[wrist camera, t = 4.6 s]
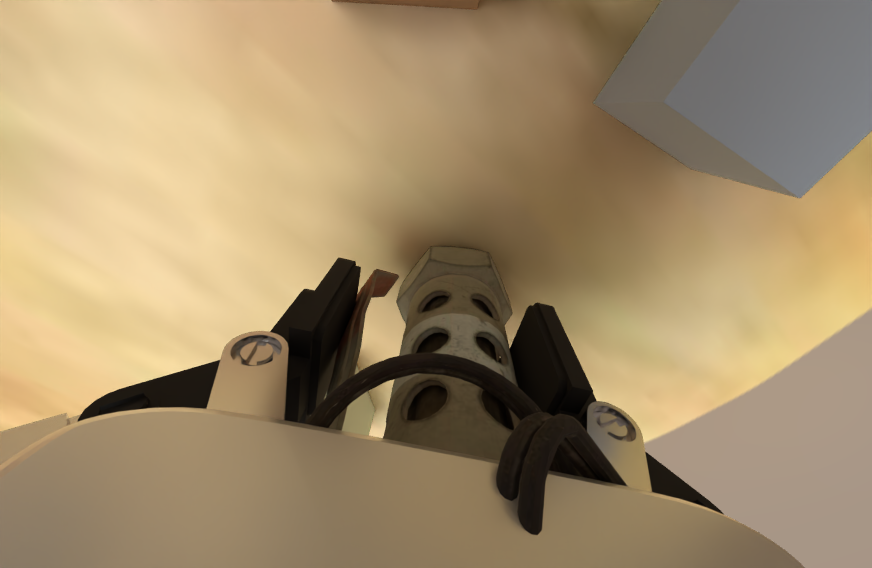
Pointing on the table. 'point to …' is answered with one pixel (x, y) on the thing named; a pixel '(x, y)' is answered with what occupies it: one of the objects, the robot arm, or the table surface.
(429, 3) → the walnut cube
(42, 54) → the table surface
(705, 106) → the slate blue cube
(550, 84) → the table surface
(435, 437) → the grenade model
